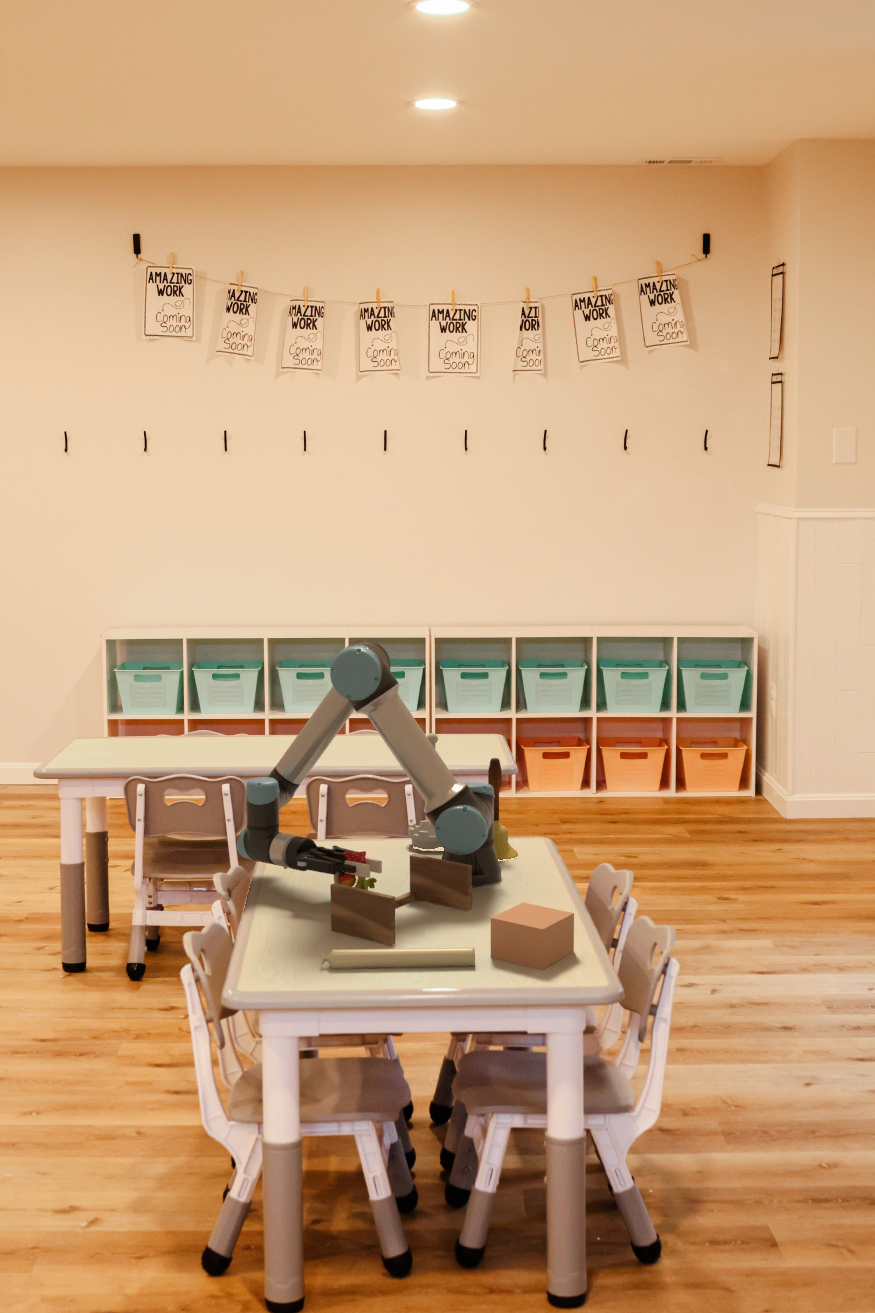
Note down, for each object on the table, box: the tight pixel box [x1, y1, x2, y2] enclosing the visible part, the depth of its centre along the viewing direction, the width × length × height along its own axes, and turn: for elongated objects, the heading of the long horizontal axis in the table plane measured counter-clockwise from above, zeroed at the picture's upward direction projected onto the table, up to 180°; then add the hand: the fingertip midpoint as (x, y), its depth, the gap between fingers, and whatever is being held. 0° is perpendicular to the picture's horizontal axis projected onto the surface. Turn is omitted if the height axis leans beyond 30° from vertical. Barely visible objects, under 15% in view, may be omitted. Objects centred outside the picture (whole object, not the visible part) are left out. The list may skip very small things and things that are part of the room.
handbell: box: [487, 757, 519, 860], centre depth 330 cm, size 12×12×25 cm
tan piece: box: [320, 947, 476, 970], centre depth 254 cm, size 4×30×4 cm, turn 92°
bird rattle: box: [333, 850, 377, 890], centre depth 288 cm, size 6×11×9 cm
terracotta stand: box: [490, 902, 575, 970], centre depth 260 cm, size 12×12×8 cm
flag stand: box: [407, 732, 442, 849], centre depth 339 cm, size 13×13×30 cm
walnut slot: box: [329, 853, 473, 947], centre depth 281 cm, size 29×16×10 cm, turn 144°
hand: (374, 869), depth 285 cm, fingers closed on bird rattle, 3 cm apart
